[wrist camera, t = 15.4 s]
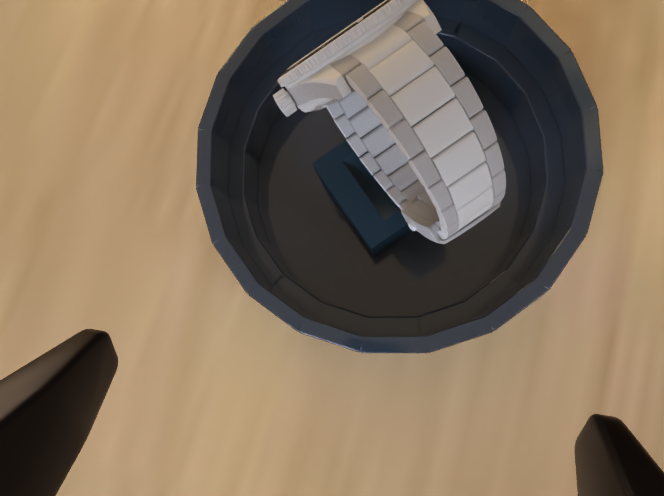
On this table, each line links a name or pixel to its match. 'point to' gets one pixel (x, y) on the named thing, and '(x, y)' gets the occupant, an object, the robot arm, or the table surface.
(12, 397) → the robot arm
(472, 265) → the bowl
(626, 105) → the table surface
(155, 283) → the table surface
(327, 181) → the watch
